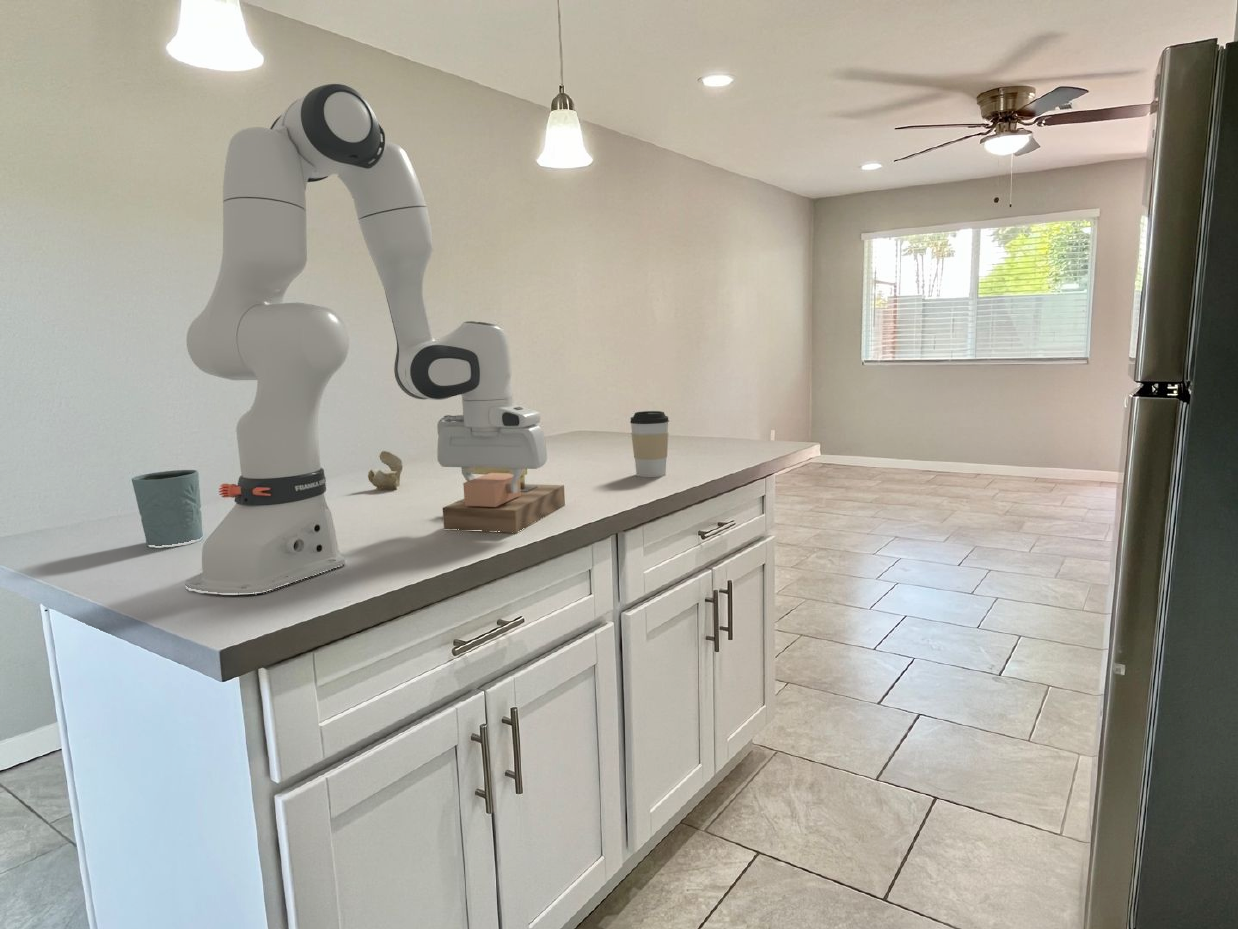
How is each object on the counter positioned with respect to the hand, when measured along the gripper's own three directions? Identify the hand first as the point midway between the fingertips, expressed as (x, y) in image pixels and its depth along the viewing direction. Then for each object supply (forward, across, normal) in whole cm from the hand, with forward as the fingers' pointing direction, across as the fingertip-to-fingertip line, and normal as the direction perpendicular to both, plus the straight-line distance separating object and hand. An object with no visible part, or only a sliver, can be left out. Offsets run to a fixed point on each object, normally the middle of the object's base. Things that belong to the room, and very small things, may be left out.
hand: (493, 492), depth 140 cm
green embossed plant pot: (+6, -51, -22) cm, 56 cm away
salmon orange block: (+1, 0, 0) cm, 1 cm away
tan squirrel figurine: (+6, -40, +26) cm, 48 cm away
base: (+6, 0, +5) cm, 8 cm away
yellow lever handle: (+1, -5, +12) cm, 13 cm away
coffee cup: (+6, +15, +50) cm, 53 cm away
